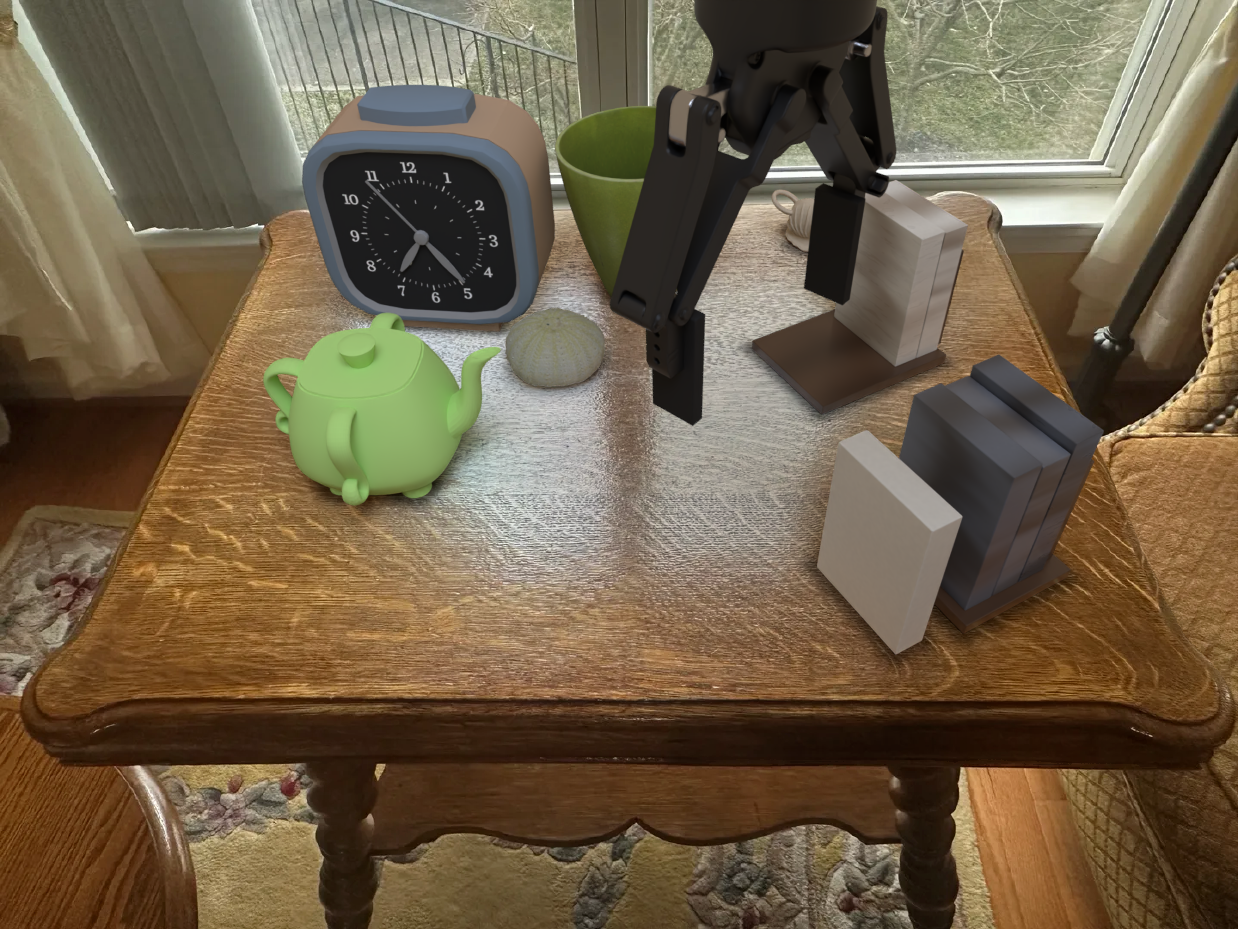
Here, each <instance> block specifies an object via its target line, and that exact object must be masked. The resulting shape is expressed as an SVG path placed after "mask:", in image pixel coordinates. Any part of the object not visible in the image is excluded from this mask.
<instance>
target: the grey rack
mask: <svg viewBox="0 0 1238 929" xmlns="http://www.w3.org/2000/svg"><path fill="white" fill-rule="evenodd" d="M1104 431H1105V430H1104V429H1103V428H1101V427H1100V426H1099V425H1097V424H1096V423H1094V422H1093V421H1092V420H1090V419H1089V418H1087V417H1086V416H1085V415H1083V414H1082V413H1081V412H1079V411H1078V410H1076V409H1075V408H1073V407H1072V406H1071V405H1069V404H1068V403H1067V402H1065V401H1064V400H1063V399H1062V398H1060V397H1058V395H1056V394H1054V393H1053V392H1051V390H1049V389H1048V388H1046V387H1045V386H1044V385H1042V384H1041V383H1039V382H1038V381H1037V380H1035V379H1034V378H1032V377H1031V376H1030V375H1028V374H1027V373H1026V372H1025V371H1023V370H1022V369H1020V368H1018V367H1017V366H1016V365H1015V364H1013V363H1012V362H1011V361H1009V360H1008V359H1006V358H1005V357H1004V356H1002V355H1001V354H996V355H994V356H992V357H989V358H986V359H984V360H982V361H980V362H978V363H975V364H973V365H972V366H971V370H970V374H969V375H966V376H964V377H961V378H959V379H956V380H955V381H952V382H950V383H947V384H943V383H938V384H936V385H933V386H930V387H929V388H926V389H923V390H922V391H920V392H919V391H918V392H917V393H915V394H913V397H912V402H911V405H910V410H909V415H908V419H907V422H906V426H905V430H904V435H903V439H902V443H901V448H900V452H899V456H898V458H899V459H900V460H901V461H902V462H903V463H904V464H906V465H907V466H908V467H909V468H910V469H911V470H912V471H913V472H914V473H915V474H917V475H918V476H919V477H920V478H921V479H922V480H923V481H924V482H925V483H926V484H928V485H929V486H930V487H931V488H932V489H933V490H934V491H935V492H936V493H937V494H939V495H940V496H941V497H942V498H943V499H944V500H945V501H946V502H947V503H948V504H950V505H951V506H952V507H953V508H954V509H955V510H956V511H957V512H958V513H959V514H961V515H962V520H961V523H960V526H959V529H958V532H957V535H956V538H955V541H954V544H953V547H952V551H951V554H950V557H949V560H948V563H947V566H946V569H945V572H944V575H943V578H942V581H941V584H940V587H939V590H938V593H937V596H936V599H935V602H934V606H935V607H936V608H937V609H938V610H939V611H940V612H941V613H942V614H943V615H944V616H945V617H946V618H947V619H948V620H949V621H950V622H951V623H952V624H953V625H954V626H955V627H956V628H957V629H958V630H959V631H960V632H961V633H962V634H966V633H968V632H970V631H972V630H973V629H975V628H977V627H979V626H981V625H983V624H984V623H986V622H988V621H990V620H992V619H993V618H996V617H997V616H999V615H1001V614H1003V613H1005V612H1007V611H1009V610H1010V609H1012V608H1014V607H1016V606H1017V605H1020V604H1021V603H1023V602H1025V601H1027V600H1028V599H1030V598H1032V597H1034V596H1035V595H1036V596H1037V595H1038V594H1040V593H1041V592H1044V591H1045V590H1047V589H1049V588H1051V587H1053V586H1055V585H1056V584H1058V583H1061V582H1062V581H1063V580H1066V579H1067V578H1068V577H1069V575H1070V572H1071V570H1072V569H1071V568H1070V567H1069V566H1068V565H1067V564H1066V563H1064V562H1063V561H1062V560H1061V559H1060V558H1059V557H1057V556H1056V555H1055V554H1054V552H1055V551H1056V549H1057V545H1058V544H1059V542H1060V539H1061V537H1062V535H1063V533H1064V530H1065V528H1066V526H1067V524H1068V521H1069V519H1070V517H1071V515H1072V513H1073V510H1074V508H1075V505H1076V504H1077V502H1078V500H1079V497H1080V494H1081V492H1082V491H1083V487H1084V485H1085V483H1086V482H1087V479H1088V477H1089V475H1090V472H1091V470H1092V468H1093V466H1094V464H1095V460H1094V459H1093V458H1094V457H1093V456H1094V454H1095V452H1096V450H1097V447H1098V445H1099V443H1100V441H1101V439H1102V436H1103V434H1104Z"/></svg>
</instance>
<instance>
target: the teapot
mask: <svg viewBox="0 0 1238 929" xmlns="http://www.w3.org/2000/svg"><path fill="white" fill-rule="evenodd" d="M501 351H502V348H501V347H499V346H489V347H488V346H487V347H484V348H480V349H477V350H475V351H473V352H471V353H469V355H468V356H466V358H465V360H464V361H463V363H462V366H461V373H460V386H459V384H458V382H457V379H456V377H455V376H454V374H453V373H452V371H451V369H450V368H449V367H448V365H447V364H446V362H445V361H444V360H443V359H442V358H441V357H440V356H439V355H438V354H437V353H436V351H434V350H433V349H432V347H430V345H429V344H427V343H426V342H425V341H424V340H423V339H422V338H420V337H419V336H417V335H415V334H413V333H410V332H408V331H406V326H404V323H403V320H402V319H401V317H400V316H398V315H397V314H393V313H381V314H379V315H375V316H374V318H373V319H372V321H371V323H370V326H369V327H360V328H351V329H344V330H339V331H336V332H332V333H329V334H327V335H325V336H323V337H322V338H320V339H319V340H318V341H317V342H316V343H315V344H314V345H313V346H312V347H311V349H310V350H309V351H308V352H307V354H306V357H305V358H304V359H300V358H298V357H297V358H296V357H282V358H278V359H277V360H275V361H273V362H272V363H270V364H269V366H268V367H266V369H265V371H264V374H263V379H262V382H263V387H264V389H265V391H266V393H267V395H268V396H269V398H270V399H271V400H272V402H273V403H274V404H275V405H276V407H278V409H279V410H278V411H277V413H276V414H275V426H276V427H277V429H278V430H279V431H280V432H281V433H284V434H285V435H288V438H289V446H290V451H291V455H292V458H293V460H294V463H295V466H296V467H297V468H298V469H299V470H300V472H301V473H302V474H303V475H305V476H306V477H307V478H309V479H310V480H312V481H314V482H316V483H318V484H320V485H322V486H324V487H326V488H327V487H328V488H329V491H330V492H331V493H332V494H333V495H336V496H341V497H342V500H343V502H344V503H345V504H347V505H350V506H352V507H353V506H354V507H357V506H360V505H362V504H363V503H365V502H366V500H367V499H368V498H369V496H383V495H384V496H385V495H394V494H400V493H401V494H402V495H403V496H405V497H406V498H409V499H419V498H422V497H424V496H426V495H427V494H429V492H431V490H432V487H433V482H434V481H436V480H437V479H438V478H439V477H440V476H441V475H442V474H443V473H444V471H445V470H446V469H447V467H448V466H449V464H450V462H451V461H452V459H453V458H454V455H455V453H456V452H457V450H458V447H459V445H460V442H461V440H462V437H463V434H465V433H466V432H468V431H469V430H470V429H471V428H472V427H473V426H474V424H475V423H476V422H477V420H478V418H479V416H480V415H481V414H480V413H481V412H482V411H481V410H482V405H483V387H482V386H483V385H482V372H483V369H484V367H485V366H486V364H487V363H488V362H489V361H491V360H492V359H493V358H495V357H496V356H497V355H498V354H500V352H501ZM279 375H287V376H294V377H296V380H295V384H294V388H293V393H292V395H291V394H290V392H289V391H288V390H287V389H286V387H285V386H284V384H283V383H282V381H281V380H280V377H279Z"/></svg>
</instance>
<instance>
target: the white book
mask: <svg viewBox="0 0 1238 929" xmlns="http://www.w3.org/2000/svg"><path fill="white" fill-rule="evenodd" d="M829 488H830V489H829V495H828V499H827V506H826V512H825V516H824V517H825V518H824V522H823V529H822V534H821V540H820V547H819V551H818V557H817V563H816V568H817V570H819V571H820V573H821V574H822V575H823V576H824V577H825V578H826V579H827V580H828V582H829V583H830V584H832V586H833V587H834V588H835V589H836V591H838V593H839V594H840V595H841V596H842V597H843V598H844V599H845V601H847V602H848V604H849V605H850V606H851V607H852V608H853V609H854V611H856V612H857V614H858V615H859V616H860V617H861V618H862V619H863V620H864V621H865V622H866V624H867V625H868V626H869V627H870V628H871V629H872V630H873V631H874V633H875V634H876V635H877V636H878V637H879V638H880V639H881V641H883V643H884V644H885V645H886V646H887V647H888V648H889V649H890V650H891V651H892V652H893V653H894V655H898V654H899V653H902V652H903V651H905V650H907V649H909V648H910V647H913V646H914V645H916V644H918V643H920V642H922V641H923V639H924V635H925V632H926V630H927V626H928V624H929V621H930V617H931V614H932V611H933V608H934V606H935V604H934V602H935V599H936V596H937V593H938V590H939V587H940V584H941V581H942V578H943V575H944V572H945V569H946V566H947V563H948V560H949V557H950V554H951V551H952V547H953V544H954V541H955V538H956V535H957V532H958V529H959V526H960V523H961V520H962V515H961V514H959V513H958V512H957V511H956V510H955V509H954V508H953V507H952V506H951V505H950V504H948V503H947V502H946V501H945V500H944V499H943V498H942V497H941V496H940V495H939V494H937V493H936V492H935V491H934V490H933V489H932V488H931V487H930V486H929V485H928V484H926V483H925V482H924V481H923V480H922V479H921V478H920V477H919V476H918V475H917V474H915V473H914V472H913V471H912V470H911V469H910V468H909V467H908V466H907V465H906V464H904V463H903V462H902V461H901V460H900V459H899V456H897V455H896V454H895V453H893V451H891V449H889V448H888V446H886V445H885V444H884V443H882V441H880V439H878V438H877V437H876V436H875V435H874V434H873V433H871V431H869V429H865V430H862V431H860V432H858V433H856V434H853V435H851V436H849V437H847V438H844V439H842V440H840V441H838V442H837V448H836V455H835V460H834V466H833V472H832V477H831V482H830V487H829Z"/></svg>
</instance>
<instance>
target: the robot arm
mask: <svg viewBox="0 0 1238 929" xmlns="http://www.w3.org/2000/svg"><path fill="white" fill-rule="evenodd" d="M693 2H694V3H693V8H694V9H693V10H694V18H695V20H696V22H697V24H698V26H699V28H700V29H702V31H703V33H704V34H705V36H706V38H707V40H708V42H709V43H710V46H711V48H712V57H711V63H710V67H709V71H708V74H707V77H706V80H705V84H704V85H702V86H699V87H695V88H693V89H691V90H686V89H683V88H680V87H678V86H675V85H671V84H669V85H668V84H667V85H665V86H663V88H662V89H660V91H659V94H658V95H657V98H656V103H655V105H656V117H655V133H654V145H653V149H652V153H651V156H650V160H649V163H648V167H647V171H646V174H645V178H644V181H643V185H642V188H641V192H640V196H639V199H638V203H637V206H636V210H635V214H634V217H633V221H632V224H631V228H630V231H629V235H628V239H627V242H626V246H625V249H624V253H623V257H622V260H621V264H620V267H619V271H618V274H617V278H616V282H615V285H614V289H613V292H612V296H611V297H610V299H609V310H610V311H611V312H612V313H614V314H616V315H618V316H620V317H622V318H624V319H626V320H627V321H630V322H631V323H634V324H635V325H637V326H639V327H641V328H643V329H645V361H646V363H647V366H648V368H650V369H651V382H652V385H651V386H652V404H653V405H655V406H656V407H658V408H660V409H661V410H663V411H665V412H667V413H669V414H670V415H671V416H674V417H676V418H677V419H679V420H681V421H683V422H685V423H686V424H688V425H690V426H692V427H694V426H695V425H696V424H697V423H698V422H700V421H701V420H703V401H704V375H705V374H704V373H705V372H704V370H705V369H704V367H705V339H706V338H705V337H706V336H705V334H706V313H704V312H703V311H701V310H698V309H696V307H697V305H698V303H699V300H700V298H701V296H702V294H703V291H704V289H705V287H706V285H707V283H708V281H709V278H710V276H711V274H712V272H713V270H714V268H715V265H716V263H717V261H718V260H719V257H720V255H721V252H722V251H723V248H724V246H725V244H726V242H727V239H728V237H729V236H730V233H731V231H732V229H733V226H734V224H735V222H736V220H737V218H738V215H739V213H740V212H741V209H742V207H743V205H744V203H745V200H746V198H747V196H748V194H749V192H750V191H751V189H753V188H756V187H759V186H761V185H762V184H764V182H765V180H766V178H767V176H768V174H769V171H770V170H771V167H772V165H773V164H774V162H775V161H776V160H777V159H778V158H780V157H782V155H784V153H785V152H786V151H787V150H788V149H789V148H790V147H792V146H794V145H801V144H802V143H805V144H806V146H807V148H808V149H809V151H810V153H811V155H812V157H813V158H814V160H815V161H816V162H817V164H818V166H819V168H820V170H821V171H822V173H823V174H824V176H825V177H826V179H827V180H828V181H831V182H832V185H829V184H827V183H821V184H820V185H818V186H817V187H815V189H814V196H813V199H814V205H813V214H812V222H811V231H810V239H809V248H808V252H807V257H806V264H805V265H806V266H805V275H804V284H803V289H804V290H806V291H808V292H811V293H813V294H815V295H818V296H820V297H821V298H824V299H825V300H829V301H831V302H833V303H835V304H836V303H838V304H840V305H844V304H845V303H846V302H847V301H849V300H850V294H851V288H852V282H853V275H854V269H855V263H856V257H857V250H858V244H859V238H860V232H861V225H862V219H863V213H864V206H865V200H866V198H865V194H866V193H867V194H870V195H873V196H876V197H878V198H879V197H881V196H883V194H884V193H885V192H886V190H887V187H888V184H889V182H890V176H889V175H887V174H884V173H880V172H877V171H878V170H879V169H880V168H881V169H885V170H888V169H890V168H891V167H892V166H893V164H894V163H895V160H896V158H897V157H896V156H897V142H896V135H895V128H894V120H893V112H892V104H891V95H890V87H889V80H888V72H887V71H888V70H887V64H886V54H885V47H886V46H885V45H886V37H887V26H888V16H889V15H888V10H887V8H885V7H881V6H877V4H878V0H694V1H693ZM724 140H726V142H727V144H728V145H729V146H730V148H731V149H733V150H734V151H736V152H737V153H741V154H743V155H746V156H747V157H745V158H739V157H736V156H734V155H731V154H729V153H725V152H724V151H723V152H722V151H720V150H719V148H720V146H721V143H723V141H724ZM676 289H677V290H676Z"/></svg>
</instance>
